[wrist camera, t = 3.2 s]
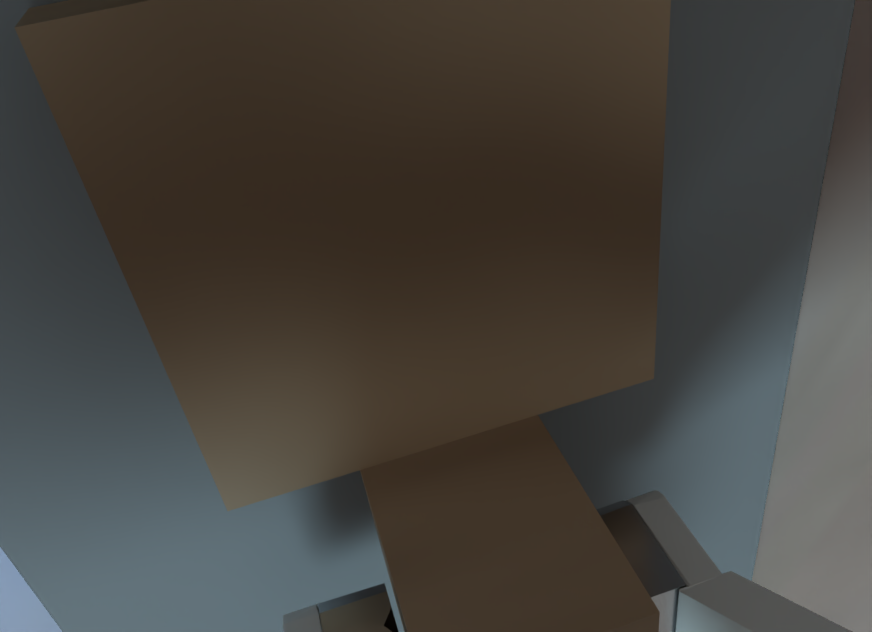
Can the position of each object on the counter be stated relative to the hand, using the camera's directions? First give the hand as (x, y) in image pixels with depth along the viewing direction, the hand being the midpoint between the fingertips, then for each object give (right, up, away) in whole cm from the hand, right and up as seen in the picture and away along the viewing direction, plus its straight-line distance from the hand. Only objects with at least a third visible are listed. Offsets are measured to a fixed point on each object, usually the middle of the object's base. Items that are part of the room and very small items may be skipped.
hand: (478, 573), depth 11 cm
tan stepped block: (-1, +2, 0) cm, 2 cm away
